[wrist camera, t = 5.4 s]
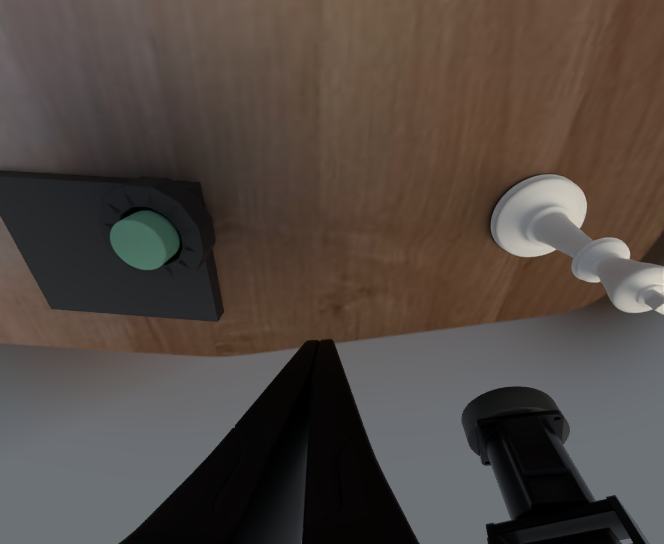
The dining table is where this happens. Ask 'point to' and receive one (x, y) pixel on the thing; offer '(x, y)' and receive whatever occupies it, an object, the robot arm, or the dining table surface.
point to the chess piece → (573, 241)
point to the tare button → (144, 240)
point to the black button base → (95, 246)
